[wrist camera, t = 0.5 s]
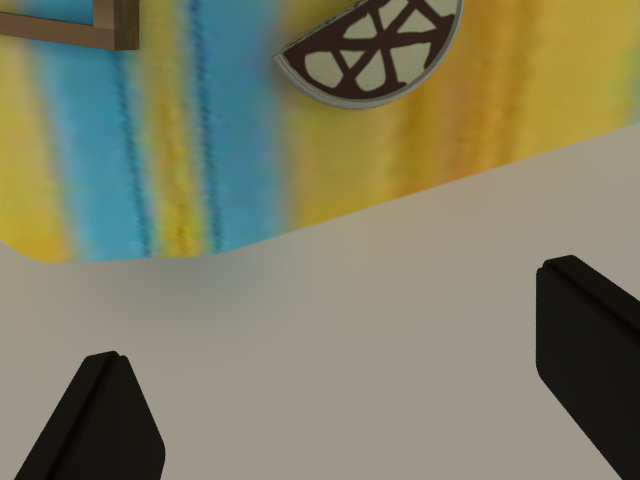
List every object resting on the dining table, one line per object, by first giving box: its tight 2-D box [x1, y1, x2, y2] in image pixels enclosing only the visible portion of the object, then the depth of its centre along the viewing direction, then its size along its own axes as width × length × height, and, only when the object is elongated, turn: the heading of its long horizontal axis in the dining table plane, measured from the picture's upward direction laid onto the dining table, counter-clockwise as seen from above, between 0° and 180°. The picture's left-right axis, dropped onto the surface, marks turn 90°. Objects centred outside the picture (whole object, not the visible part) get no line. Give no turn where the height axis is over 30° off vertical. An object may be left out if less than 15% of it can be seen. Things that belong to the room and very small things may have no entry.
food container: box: [270, 0, 464, 110], centre depth 32 cm, size 12×6×10 cm, turn 119°
